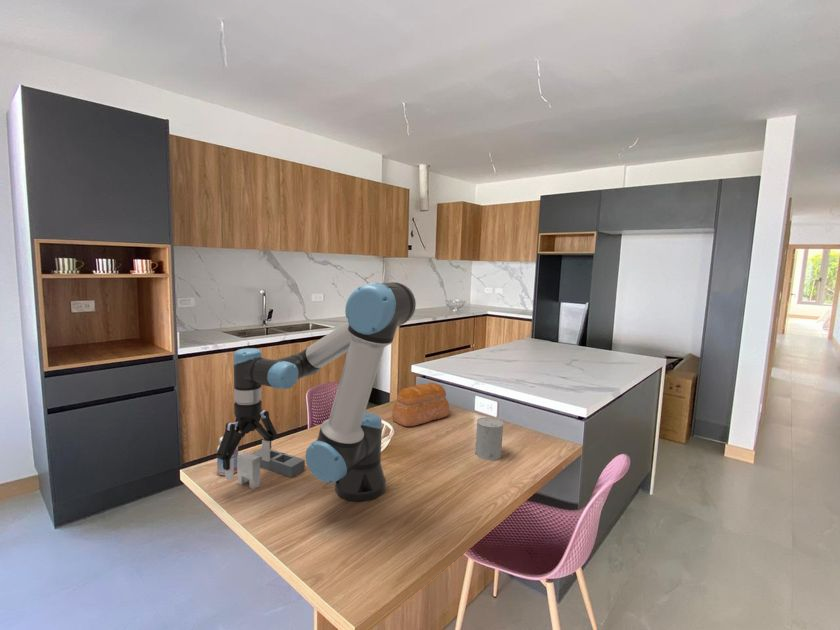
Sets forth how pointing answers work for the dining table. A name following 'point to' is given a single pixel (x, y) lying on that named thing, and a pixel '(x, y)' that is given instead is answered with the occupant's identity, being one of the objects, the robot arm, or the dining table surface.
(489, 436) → the grey concrete cylinder
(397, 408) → the bread
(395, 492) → the dining table surface
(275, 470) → the grey slotted block
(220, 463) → the pill bottle
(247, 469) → the white rectangular block
